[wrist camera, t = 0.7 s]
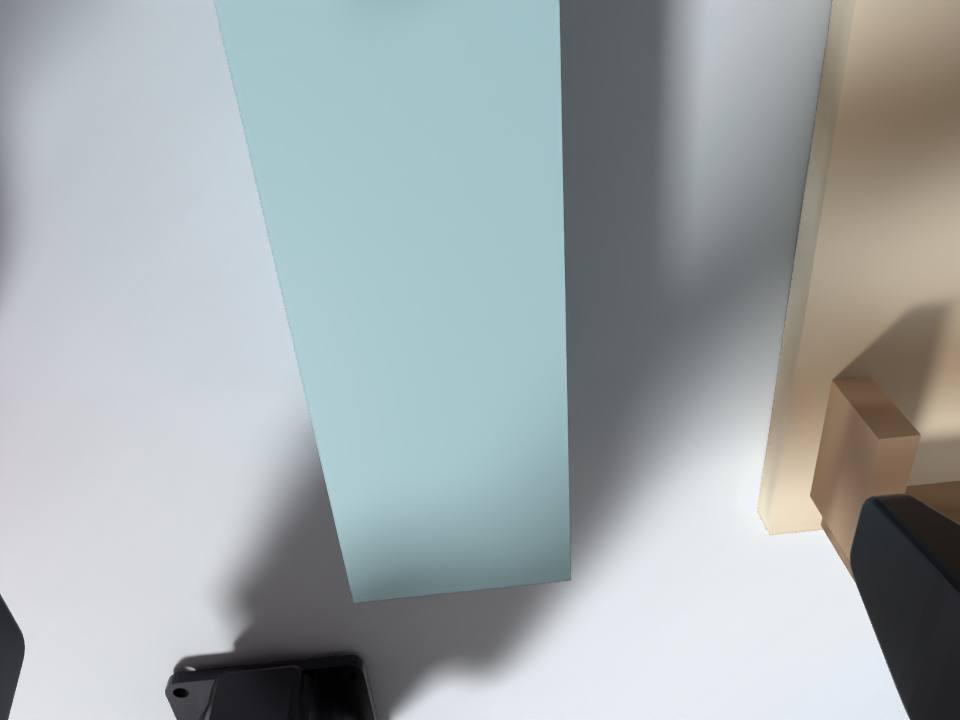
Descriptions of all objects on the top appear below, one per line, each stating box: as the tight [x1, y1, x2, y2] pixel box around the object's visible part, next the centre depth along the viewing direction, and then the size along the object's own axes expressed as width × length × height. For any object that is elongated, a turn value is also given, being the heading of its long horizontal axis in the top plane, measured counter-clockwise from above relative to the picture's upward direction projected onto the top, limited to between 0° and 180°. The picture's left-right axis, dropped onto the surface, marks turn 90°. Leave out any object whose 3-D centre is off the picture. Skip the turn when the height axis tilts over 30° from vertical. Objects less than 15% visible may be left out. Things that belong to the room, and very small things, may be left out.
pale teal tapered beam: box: [214, 0, 571, 603], centre depth 16 cm, size 17×5×5 cm, turn 4°
